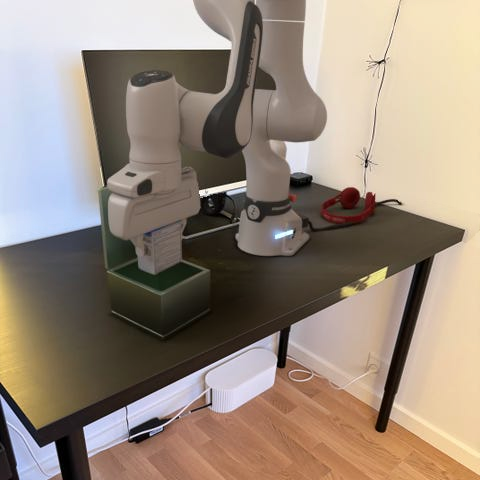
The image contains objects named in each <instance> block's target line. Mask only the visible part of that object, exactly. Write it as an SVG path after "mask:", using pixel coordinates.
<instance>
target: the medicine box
mask: <svg viewBox="0 0 480 480" xmlns="http://www.w3.org/2000/svg"><path fill="white" fill-rule="evenodd" d="M141 242H142V243H143V245H146V246H148V254H147V255H145V256H142V257H141V256H138V257H137V258H138V266H139V269H141V270H143V271H145V272H148V273H150V274H153V275H155V274H157V273H159V272H161V271H163V270H165V269H167V268H169V267H171V266H173V265H175V264H177V263H179V262H181V261H182V260H183V256H182V255H183V253H182V251H183V250H182V240H181V222H180V221H177V222H174V223H172V224H169V225H166V226H164V227H161V228H158V229H156V230H153V231H150V232H148V233H145V234H143V239H142V240H141Z"/></svg>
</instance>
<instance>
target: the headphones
mask: <svg viewBox="0 0 480 480" xmlns="http://www.w3.org/2000/svg"><path fill="white" fill-rule="evenodd" d="M337 199H338V200H337ZM360 199H361V193H360V190H358V188H356V187H354V186H347V187H346V188H344V189H343V190H342V191H341V192H340V193H339V194H337V195H336V196H334V197H331V198H328V199H327V200H326V201H324V202H323V203H322V204H321V217H322V218H323V219H325V220H326V221H328V222H331V223H334V224H343V223H348V222H355V223H356V224H358V223H361V222H363V221H365V220H366V219H368V218H369V217H370V216H371V215H372V213H373V214H374V211H376V206H375V203H376V193H373V192H372V191H367V192H366V194H365V200H364V212H362V213H359V214H356V215H337V214H333V213H330V212H328V211H327V209H328V208H330V207H333V206H335V205H337V204H338V203H340V205H341V207H343V208H345V209H348V210H349V209H352V208H354V207H355V206H357V205H358V203H359V202H360Z"/></svg>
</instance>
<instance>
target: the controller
mask: <svg viewBox="0 0 480 480" xmlns="http://www.w3.org/2000/svg"><path fill="white" fill-rule="evenodd" d="M227 194H228V192H227V191H226V192H224V193H218V194H213V195H210V196H207V197H203V198H200V210H201V211H203V212H204V214H206V215H209V216H215V215H218V214H220V213H221V212H222V211H223V210H224V209H225V205H226V203H227V201H226V200H227ZM209 200H210V201H212V204H213V208H212V207H211V206H210V202H209Z"/></svg>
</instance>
